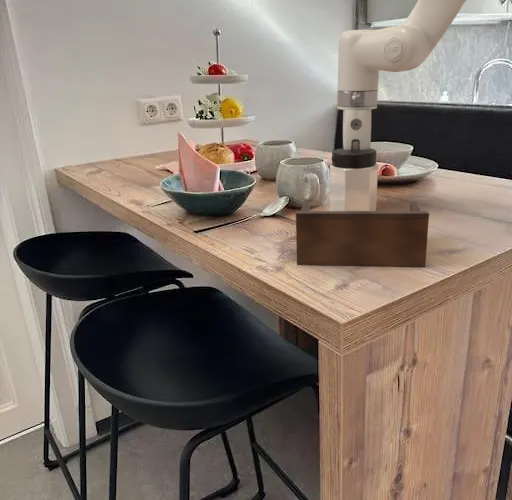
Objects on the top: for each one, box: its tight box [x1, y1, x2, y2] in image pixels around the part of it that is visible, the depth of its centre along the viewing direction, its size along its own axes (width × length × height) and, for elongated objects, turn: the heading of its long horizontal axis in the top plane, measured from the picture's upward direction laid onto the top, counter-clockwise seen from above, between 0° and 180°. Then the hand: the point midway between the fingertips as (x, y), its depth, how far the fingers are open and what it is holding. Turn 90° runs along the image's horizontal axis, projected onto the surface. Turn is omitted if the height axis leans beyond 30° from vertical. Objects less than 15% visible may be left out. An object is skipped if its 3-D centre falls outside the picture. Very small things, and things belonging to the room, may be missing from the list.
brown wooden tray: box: [295, 201, 430, 268], centre depth 76 cm, size 18×13×8 cm
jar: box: [329, 147, 379, 211], centre depth 95 cm, size 9×8×12 cm
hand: (353, 194), depth 102 cm, fingers closed
